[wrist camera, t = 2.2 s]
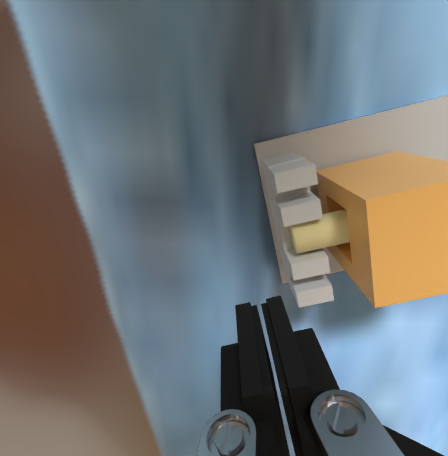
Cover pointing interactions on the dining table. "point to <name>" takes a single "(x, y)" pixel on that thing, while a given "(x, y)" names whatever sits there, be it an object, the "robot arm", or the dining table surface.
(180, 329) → the dining table surface
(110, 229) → the dining table surface
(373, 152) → the rail
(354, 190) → the sleeve
